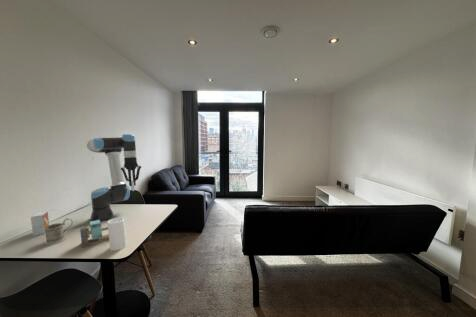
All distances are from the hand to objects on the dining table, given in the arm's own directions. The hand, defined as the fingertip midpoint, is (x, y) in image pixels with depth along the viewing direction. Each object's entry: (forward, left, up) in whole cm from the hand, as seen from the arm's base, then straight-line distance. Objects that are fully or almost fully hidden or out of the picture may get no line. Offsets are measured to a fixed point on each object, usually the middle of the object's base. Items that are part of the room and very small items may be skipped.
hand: (133, 190), depth 142 cm
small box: (-35, -51, -27) cm, 67 cm away
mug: (-13, -41, -27) cm, 51 cm away
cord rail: (+6, -22, -26) cm, 35 cm away
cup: (+22, -15, -27) cm, 38 cm away
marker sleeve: (+6, -23, -23) cm, 34 cm away
